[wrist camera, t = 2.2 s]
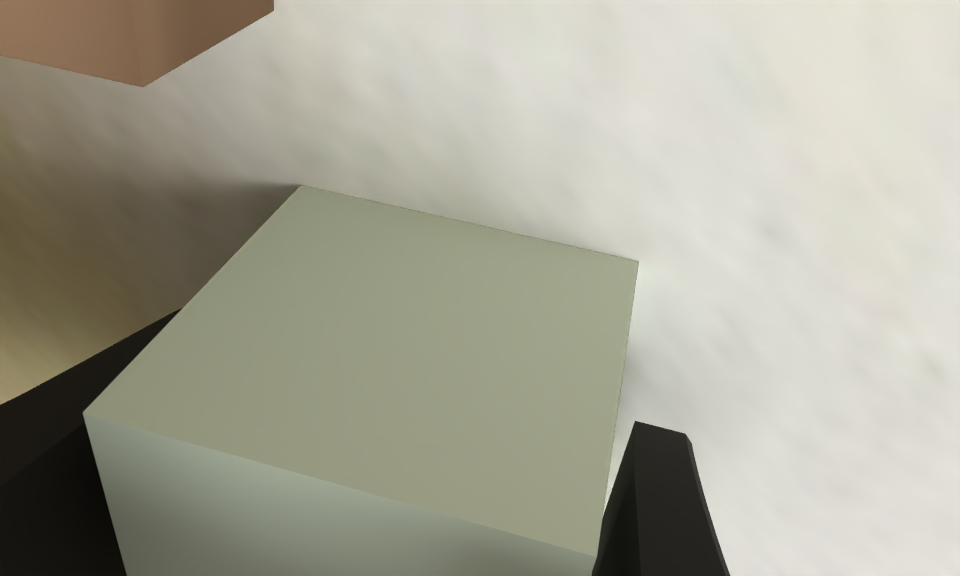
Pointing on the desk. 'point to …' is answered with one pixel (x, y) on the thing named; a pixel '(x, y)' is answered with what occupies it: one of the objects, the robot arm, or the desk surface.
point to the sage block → (372, 404)
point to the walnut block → (121, 33)
